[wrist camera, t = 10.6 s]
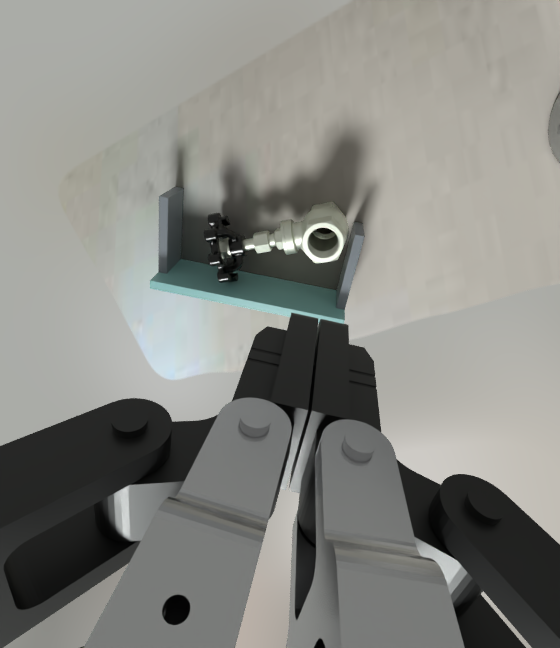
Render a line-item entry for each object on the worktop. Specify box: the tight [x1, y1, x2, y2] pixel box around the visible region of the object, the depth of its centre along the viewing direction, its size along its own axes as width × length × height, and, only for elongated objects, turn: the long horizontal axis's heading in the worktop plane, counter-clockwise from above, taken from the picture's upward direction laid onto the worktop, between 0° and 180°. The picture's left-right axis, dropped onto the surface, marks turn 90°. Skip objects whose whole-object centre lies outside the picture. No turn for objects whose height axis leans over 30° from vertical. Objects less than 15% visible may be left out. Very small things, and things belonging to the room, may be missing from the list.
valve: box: [204, 202, 349, 283], centre depth 37 cm, size 7×7×12 cm
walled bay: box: [150, 187, 365, 324], centre depth 38 cm, size 18×8×6 cm, turn 81°
